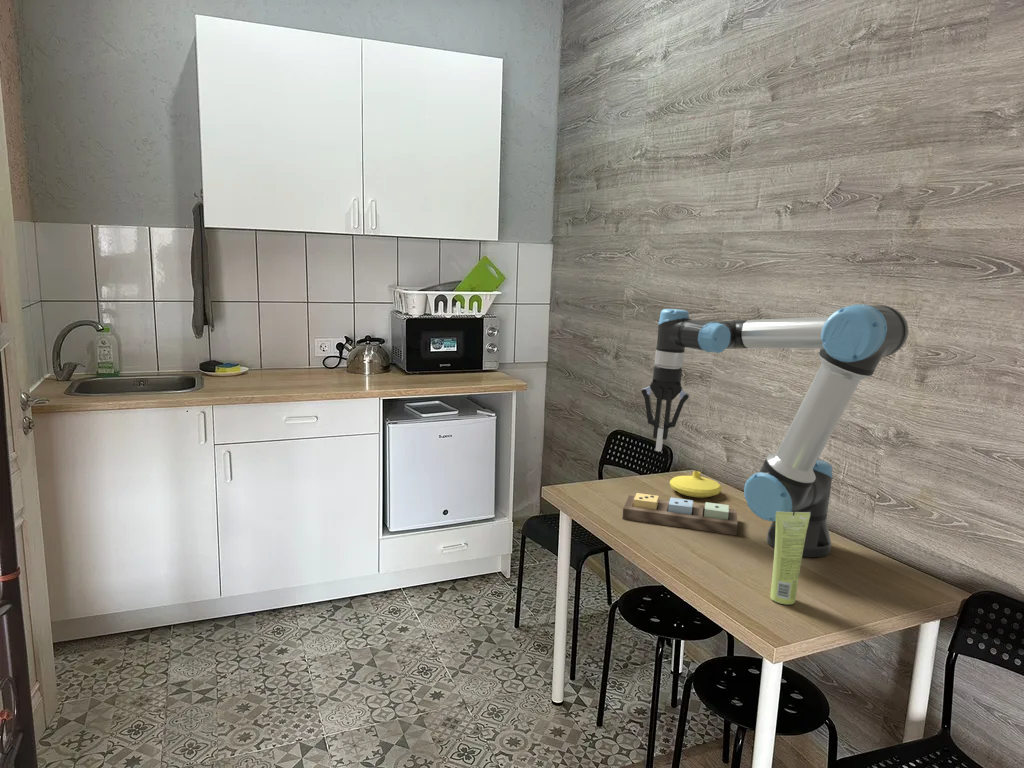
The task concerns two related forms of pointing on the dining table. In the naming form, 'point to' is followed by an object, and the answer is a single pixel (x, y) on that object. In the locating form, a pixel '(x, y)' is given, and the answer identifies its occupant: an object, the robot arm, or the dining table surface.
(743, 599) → the dining table surface
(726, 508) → the tile
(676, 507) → the tile
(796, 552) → the tube
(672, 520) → the board
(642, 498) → the tile
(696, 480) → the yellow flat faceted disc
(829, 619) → the dining table surface
